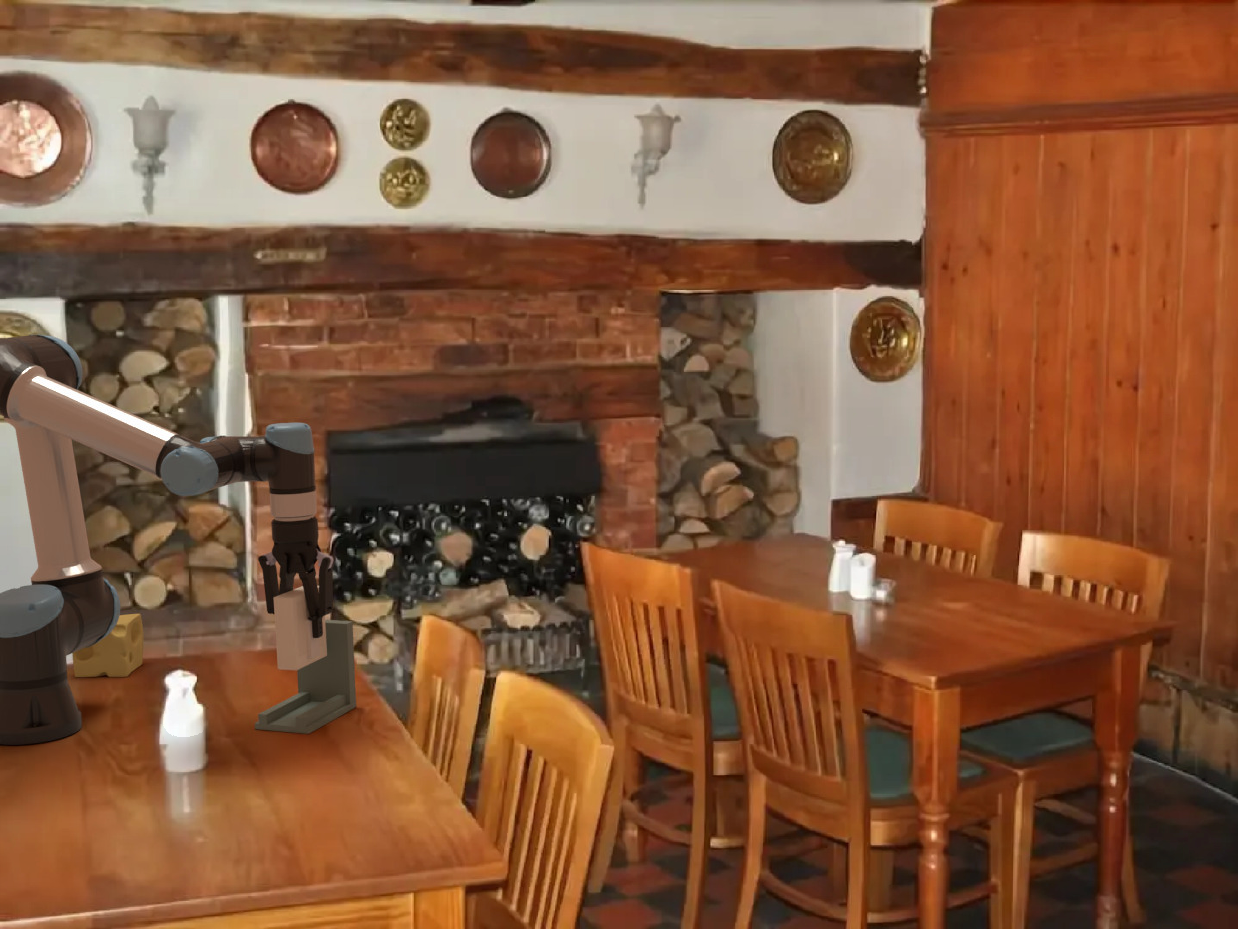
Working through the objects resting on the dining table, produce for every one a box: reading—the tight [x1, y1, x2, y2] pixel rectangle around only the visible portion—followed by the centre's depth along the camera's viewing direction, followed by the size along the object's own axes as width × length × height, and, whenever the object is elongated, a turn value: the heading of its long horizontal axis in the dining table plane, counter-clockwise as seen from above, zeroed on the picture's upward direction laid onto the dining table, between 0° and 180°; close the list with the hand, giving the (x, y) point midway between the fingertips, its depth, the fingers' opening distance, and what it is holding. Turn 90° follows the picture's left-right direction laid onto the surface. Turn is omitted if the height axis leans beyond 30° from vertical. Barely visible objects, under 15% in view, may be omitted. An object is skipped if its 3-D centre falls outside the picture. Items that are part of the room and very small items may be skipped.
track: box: [254, 619, 357, 735], centre depth 258 cm, size 16×10×15 cm, turn 161°
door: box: [273, 585, 327, 671], centre depth 256 cm, size 10×4×12 cm, turn 161°
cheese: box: [71, 613, 144, 678], centre depth 293 cm, size 10×11×10 cm
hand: (302, 655), depth 257 cm, fingers closed on door, 4 cm apart
